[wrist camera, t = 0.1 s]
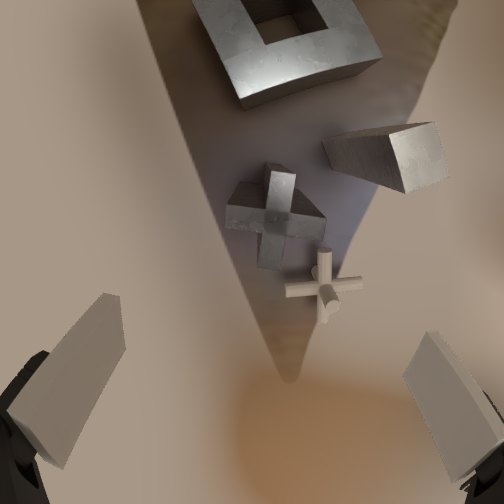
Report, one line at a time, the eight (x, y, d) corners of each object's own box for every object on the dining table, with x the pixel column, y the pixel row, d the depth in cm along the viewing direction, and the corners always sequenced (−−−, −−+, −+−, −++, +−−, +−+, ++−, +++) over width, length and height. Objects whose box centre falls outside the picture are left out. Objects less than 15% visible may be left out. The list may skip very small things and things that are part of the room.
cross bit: (242, 159, 35) (231, 165, 20) (302, 167, 35) (333, 181, 20) (235, 216, 38) (220, 263, 23) (292, 224, 38) (314, 274, 23)
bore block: (199, 17, 28) (184, -13, 19) (307, -15, 25) (317, -47, 17) (244, 111, 33) (239, 98, 24) (356, 75, 30) (383, 57, 22)
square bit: (321, 140, 34) (388, 134, 15) (348, 131, 33) (434, 121, 14) (332, 169, 35) (405, 194, 16) (358, 160, 34) (449, 177, 16)
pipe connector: (283, 304, 42) (290, 346, 33) (280, 240, 38) (287, 270, 29) (348, 297, 41) (369, 336, 32) (351, 234, 38) (378, 262, 29)
